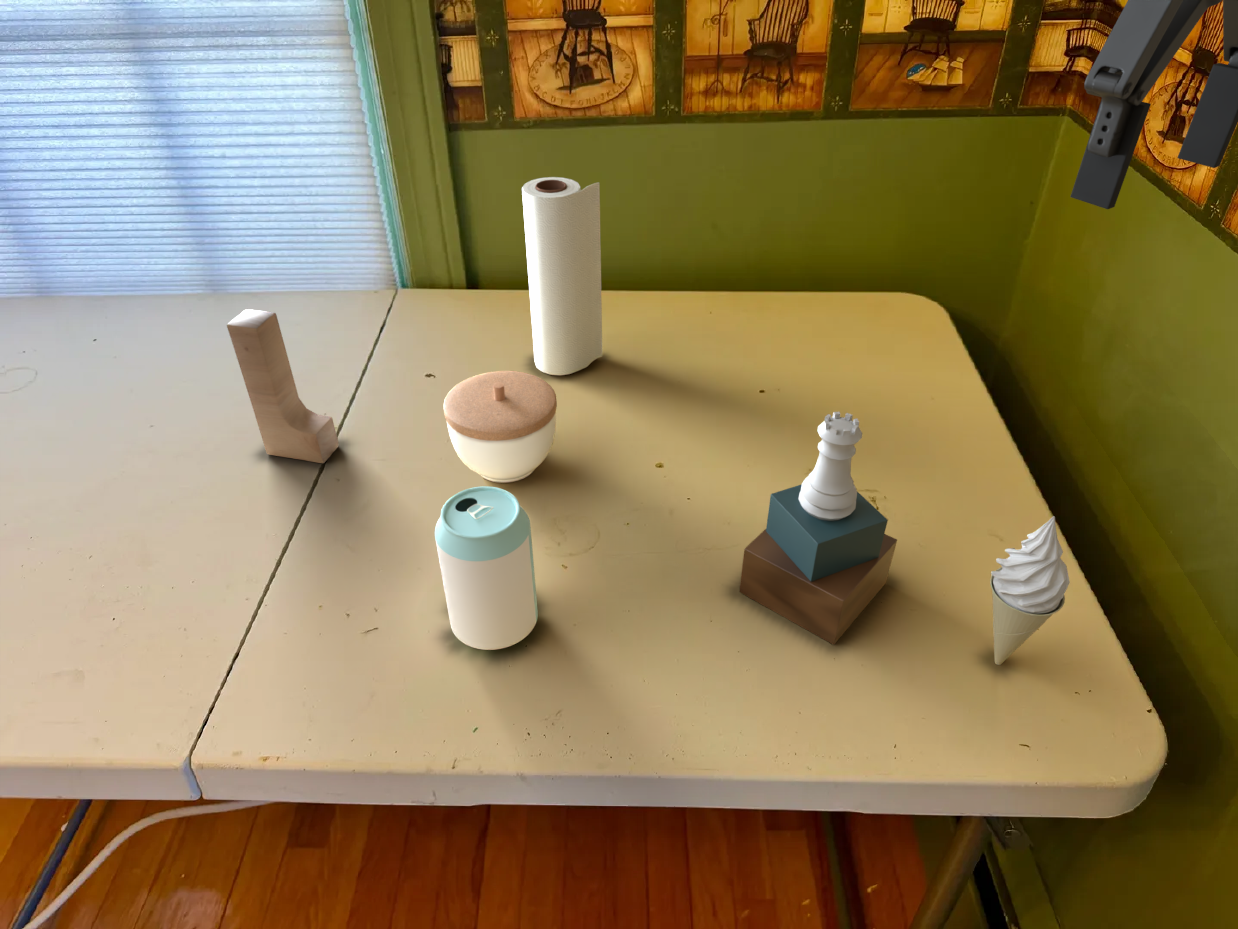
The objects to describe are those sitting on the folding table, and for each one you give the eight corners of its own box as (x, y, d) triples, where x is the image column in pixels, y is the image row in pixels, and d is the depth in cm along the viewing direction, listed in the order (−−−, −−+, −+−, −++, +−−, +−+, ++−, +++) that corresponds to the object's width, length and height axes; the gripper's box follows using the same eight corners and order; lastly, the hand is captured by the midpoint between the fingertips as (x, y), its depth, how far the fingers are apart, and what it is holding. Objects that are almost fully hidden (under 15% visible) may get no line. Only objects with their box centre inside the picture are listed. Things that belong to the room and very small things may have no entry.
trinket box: (439, 493, 84) (426, 413, 78) (468, 429, 92) (457, 352, 87) (549, 502, 83) (544, 421, 77) (567, 436, 91) (564, 359, 86)
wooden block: (266, 454, 89) (225, 324, 80) (283, 436, 91) (245, 307, 82) (323, 464, 88) (289, 332, 78) (340, 445, 90) (308, 315, 81)
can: (443, 654, 68) (421, 541, 61) (460, 589, 74) (442, 478, 67) (532, 657, 68) (521, 544, 61) (543, 591, 74) (534, 481, 66)
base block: (886, 582, 74) (897, 539, 71) (833, 645, 69) (843, 601, 66) (794, 537, 79) (801, 494, 76) (739, 592, 74) (743, 548, 70)
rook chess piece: (851, 488, 70) (868, 405, 65) (858, 525, 67) (877, 440, 62) (795, 485, 71) (808, 402, 66) (799, 522, 67) (813, 437, 62)
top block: (878, 557, 70) (888, 519, 67) (810, 582, 67) (817, 544, 65) (830, 509, 74) (837, 472, 72) (765, 531, 72) (770, 493, 70)
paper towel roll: (526, 371, 102) (511, 191, 89) (547, 346, 106) (536, 171, 93) (583, 383, 100) (576, 200, 87) (602, 357, 104) (599, 179, 91)
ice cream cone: (960, 633, 70) (1010, 488, 61) (1027, 643, 69) (1088, 497, 60) (966, 683, 66) (1022, 536, 57) (1037, 694, 65) (1105, 546, 56)
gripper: (1318, -202, 56) (1187, 134, 69) (1097, -199, 45) (990, 203, 58) (1457, -202, 51) (1289, 160, 64) (1248, -198, 40) (1095, 240, 53)
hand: (1147, 181), depth 61 cm, fingers open, 13 cm apart
